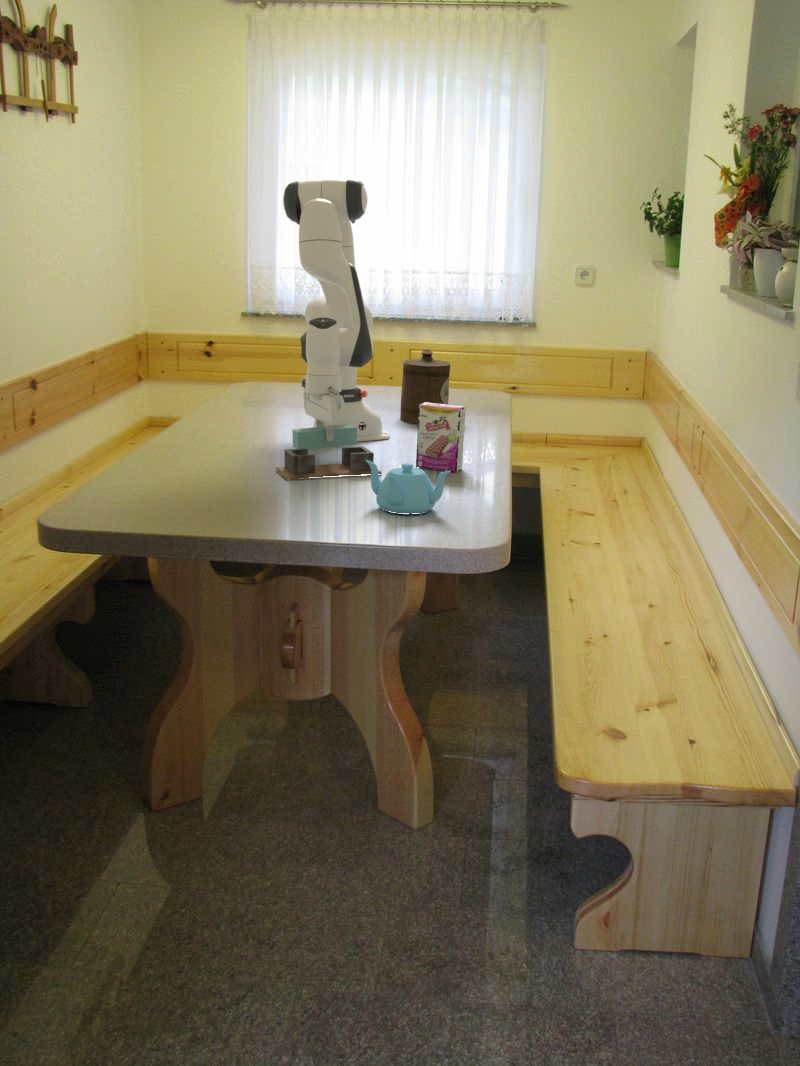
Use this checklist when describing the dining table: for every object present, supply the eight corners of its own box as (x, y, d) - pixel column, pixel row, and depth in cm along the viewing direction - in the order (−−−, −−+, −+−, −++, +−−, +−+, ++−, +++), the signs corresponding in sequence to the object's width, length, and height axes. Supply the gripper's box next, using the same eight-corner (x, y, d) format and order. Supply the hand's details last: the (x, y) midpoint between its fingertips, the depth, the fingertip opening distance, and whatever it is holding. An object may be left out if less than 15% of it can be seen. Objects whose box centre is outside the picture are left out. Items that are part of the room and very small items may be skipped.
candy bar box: (415, 468, 281) (417, 404, 276) (421, 464, 285) (423, 401, 281) (457, 473, 277) (460, 408, 273) (462, 469, 282) (466, 405, 277)
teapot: (424, 499, 251) (426, 455, 248) (451, 516, 238) (453, 470, 235) (363, 503, 246) (365, 458, 243) (387, 521, 233) (389, 473, 230)
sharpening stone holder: (368, 466, 281) (368, 445, 279) (381, 475, 272) (382, 453, 270) (276, 470, 273) (276, 448, 271) (286, 480, 264) (286, 457, 262)
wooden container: (453, 424, 341) (457, 352, 335) (408, 425, 337) (411, 352, 331) (438, 415, 355) (442, 346, 349) (394, 416, 351) (397, 346, 344)
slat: (350, 441, 287) (350, 424, 286) (356, 444, 284) (356, 427, 282) (292, 446, 281) (292, 429, 279) (298, 450, 277) (297, 432, 276)
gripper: (351, 390, 270) (352, 445, 274) (321, 377, 287) (322, 429, 292) (327, 392, 267) (328, 448, 272) (298, 378, 285) (299, 431, 289)
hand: (325, 438), depth 282 cm, fingers closed on slat, 4 cm apart
